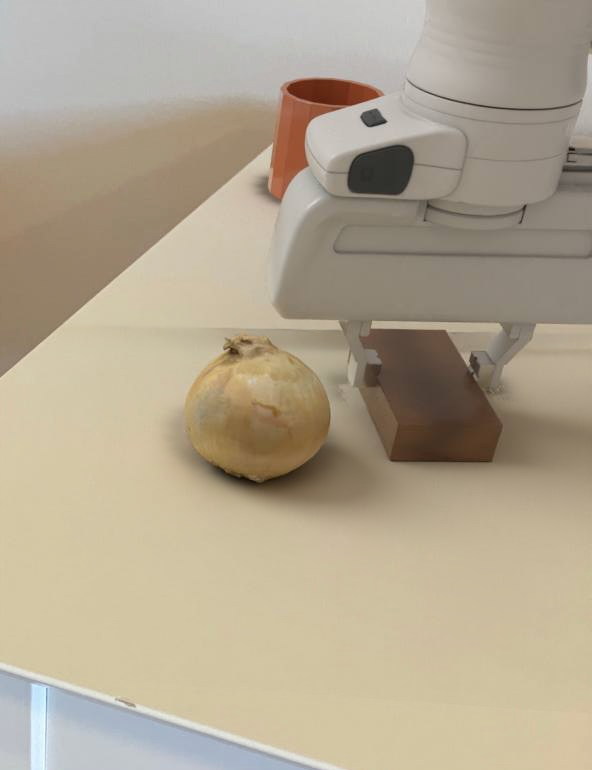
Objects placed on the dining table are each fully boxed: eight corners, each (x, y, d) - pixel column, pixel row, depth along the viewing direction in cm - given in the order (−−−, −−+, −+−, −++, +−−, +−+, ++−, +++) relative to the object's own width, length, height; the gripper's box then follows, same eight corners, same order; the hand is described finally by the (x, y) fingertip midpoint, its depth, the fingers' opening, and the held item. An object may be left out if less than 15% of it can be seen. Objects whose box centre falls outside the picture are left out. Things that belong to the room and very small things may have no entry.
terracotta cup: (352, 190, 97) (372, 78, 91) (373, 225, 91) (396, 108, 85) (259, 188, 96) (273, 76, 90) (274, 223, 90) (290, 105, 84)
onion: (315, 428, 66) (336, 315, 61) (326, 503, 60) (350, 384, 55) (181, 419, 66) (191, 306, 61) (179, 493, 60) (190, 374, 55)
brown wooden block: (437, 363, 73) (445, 329, 71) (492, 462, 64) (503, 425, 62) (346, 362, 72) (353, 327, 71) (389, 461, 63) (398, 423, 62)
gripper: (647, 131, 61) (569, 362, 70) (278, 120, 59) (248, 357, 69) (698, 170, 56) (607, 412, 65) (298, 159, 55) (262, 408, 64)
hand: (420, 384), depth 67 cm, fingers closed on brown wooden block, 6 cm apart
